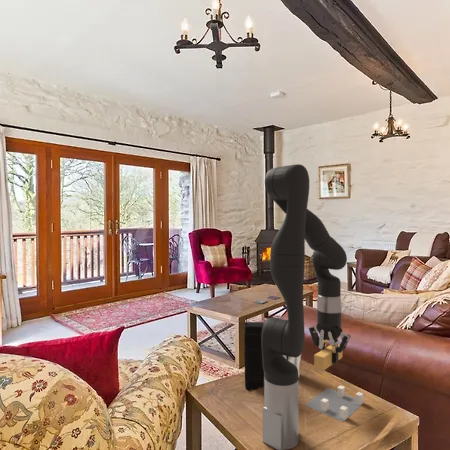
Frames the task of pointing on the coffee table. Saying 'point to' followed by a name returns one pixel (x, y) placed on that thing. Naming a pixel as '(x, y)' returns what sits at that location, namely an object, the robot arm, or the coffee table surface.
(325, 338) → the robot arm
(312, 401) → the board
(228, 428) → the coffee table surface
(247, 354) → the portable radio
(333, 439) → the coffee table surface
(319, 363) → the bar
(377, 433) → the coffee table surface
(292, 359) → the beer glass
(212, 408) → the coffee table surface
